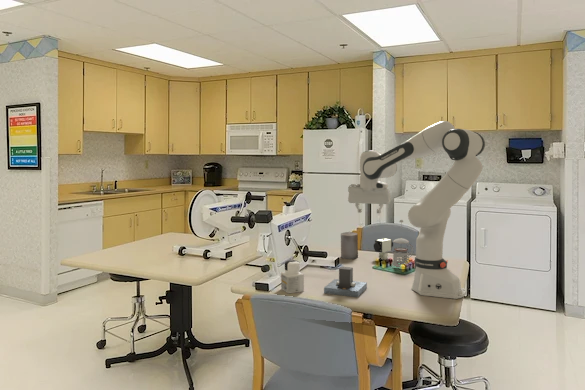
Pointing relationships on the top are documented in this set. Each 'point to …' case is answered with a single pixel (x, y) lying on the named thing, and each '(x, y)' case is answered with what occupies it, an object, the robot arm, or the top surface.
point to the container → (292, 277)
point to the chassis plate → (353, 291)
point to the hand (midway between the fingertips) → (369, 212)
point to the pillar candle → (349, 245)
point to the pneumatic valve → (383, 247)
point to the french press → (402, 250)
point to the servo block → (345, 278)
